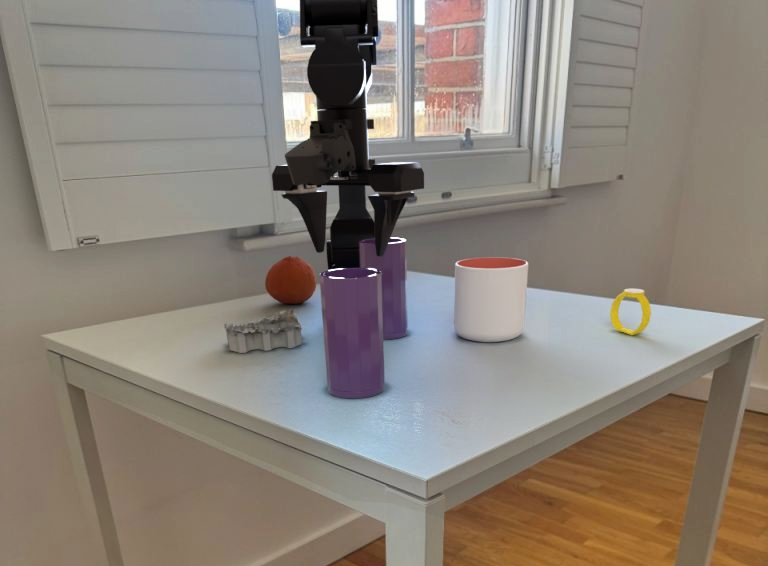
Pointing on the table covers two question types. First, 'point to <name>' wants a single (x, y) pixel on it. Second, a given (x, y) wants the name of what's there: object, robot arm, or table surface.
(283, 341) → the egg carton
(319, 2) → the robot arm
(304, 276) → the fruit
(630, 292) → the watch
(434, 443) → the table surface
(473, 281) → the cup
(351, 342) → the plum cup
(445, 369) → the table surface
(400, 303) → the plum cup
